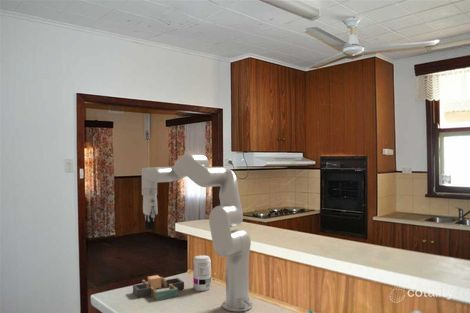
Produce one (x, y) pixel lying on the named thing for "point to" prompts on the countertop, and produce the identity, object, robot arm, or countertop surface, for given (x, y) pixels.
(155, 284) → the block
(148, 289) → the trap channel
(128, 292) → the countertop surface
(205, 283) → the supplement can
